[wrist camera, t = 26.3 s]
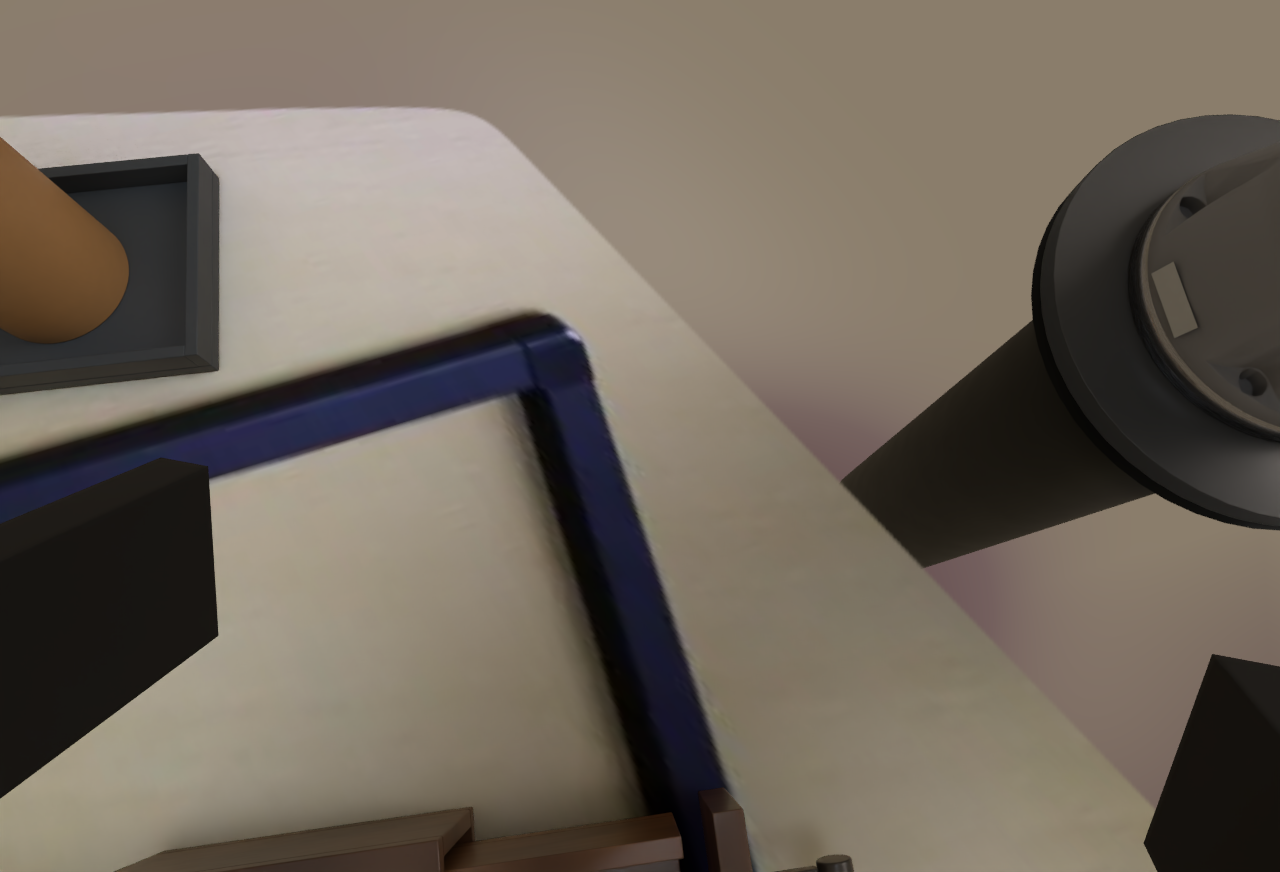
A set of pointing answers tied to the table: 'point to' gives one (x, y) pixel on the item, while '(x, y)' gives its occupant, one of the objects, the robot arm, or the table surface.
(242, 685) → the table surface
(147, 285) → the tray
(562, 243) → the table surface
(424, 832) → the cabinet
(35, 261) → the paper roll
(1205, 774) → the robot arm
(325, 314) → the table surface
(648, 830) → the drawer
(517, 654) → the table surface
